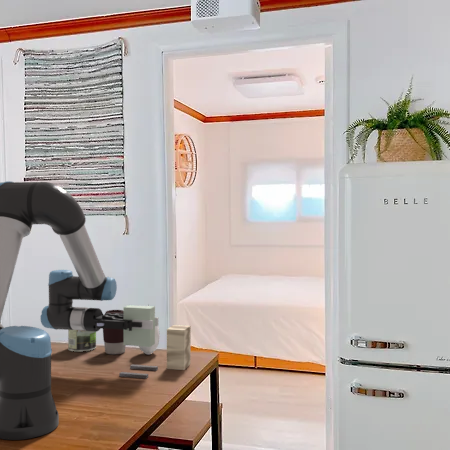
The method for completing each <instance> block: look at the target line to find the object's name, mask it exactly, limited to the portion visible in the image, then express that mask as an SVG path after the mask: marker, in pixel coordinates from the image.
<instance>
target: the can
mask: <svg viewBox="0 0 450 450" xmlns="http://www.w3.org/2000/svg"><path fill="white" fill-rule="evenodd" d="M67 339H68V340H67V341H68V342H67V344H68V345H67V346H68V348H67V349H68V351H70V352H73V351H74V353H84V352H83V351H86V352H91V351H93V349H94V350H96V349H97V332H93V331H81V332H78V330H68V336H67ZM95 348H96V349H95ZM90 350H91V351H90Z"/></svg>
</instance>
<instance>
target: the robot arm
mask: <svg viewBox="0 0 450 450" xmlns="http://www.w3.org/2000/svg"><path fill="white" fill-rule="evenodd" d="M86 219H87V218H86V215H85V213H84V211H83V209H82V207H81V205H80V204H79V203H78V201H77V200H76V199H75V198H74V196H72V195H71V194H70V193H69V192H68V191H67V190H66V189H64V188H62V187H61V186H59V185H57V184H56V183H52V182H48V181H39V182H38V181H30V182H29V181H23V182H22V181H20V182H19V181H16V182H14V181H9V180H8V181H4V182H0V440H1V439H2V440H7V441H16V440H17V441H19V440H21V441H22V440H27V439H33V438H38V437H41V436H44V435H46V434H49V433H51V432H53V431H55V429H56V428H58V426H59V424H60V421H59V420H60V419H59V417H60V416H59V412H58V410H57V406H56V403H55V400H54V398H53V394H52V353H53V350H52V349H53V348H52V341H51V336H50V334H49V333H48V332H47V331H46V330H44V329H42V328H40V327H35V326H30V325H29V326H27V325H12V326H3V324H2V322H1V320H2V316H3V313H4V309H5V306H6V301H7V297H8V294H9V290H10V286H11V282H12V279H13V275H14V272H15V268H16V264H17V261H18V256H19V253H20V249H21V245H22V243H23V239H24V238H25V237H28V236H29V235H30V234H31V232H32V227H33V225H47V226H50V227H51V229H52V231H53V232H54V234H56V235H57V236H58V235H59V237H60V239H61V242H62V244H63V246H64V248H65V250H66V252H67V254H68V257H69V259H70V261H71V263H72V265H73V267H74V270H75V271H76V273H77V276H74V274H73V271H72V270H71V269H56V270H51V271H50V272H49V274H48V283H47V284H48V285H47V286H48V305H46V306H44V307H43V308H42V310H41V315H40V324H41V325H42V326H43V328H46V329H51V330H52V329H53V330H56V331H57V330H62V331H63V330H78V332H81V331H93V332H96V333H97V332H98V331H100V330H101V329H103V328H106V329H125V330H127V329H128V328H129V331H132V327H133V328H136V329H153V320H138V319H133V322H132V320H126V319H124V314H119V313H113V314H111V313H106V315H105V314H104V313H103V310H102V309H101V308H100V307H99V308H98V307H86V306H84V307H83V306H73V303H74V302H73V301H74V300H77V301H79V300H81V301H100V302H102V301H112V300H113V299H115V297H116V293H117V286H118V285H117V281H116V279H115V278H114V277H111V276H110V277H109V276H106V275H105V273H104V270H103V268H102V266H101V263H100V260H99V258H98V255H97V253H96V251H95V249H94V246H93V243H92V241H91V238H90V236H89V233H88V231H87V228H86V225H85V224H86V221H87V220H86ZM155 326H158V327H159V317H158V316H157V317H156V316H155Z"/></svg>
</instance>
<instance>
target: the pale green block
mask: <svg viewBox="0 0 450 450" xmlns="http://www.w3.org/2000/svg"><path fill="white" fill-rule="evenodd" d="M123 311H124V319H126V320H132V322H133V319H138V320H153V329H136V328H133V327H132V331H129V328H128V329H127V330H125V329H124V345H126V346H130V347H131V346H132V347H133V346H134V347H139V346H145V347H151V346H152V345H154V344H155V317H156V315H155V314H156V307H155V305H154V306H153V305H152V306H151V305H149V306H148V305H132V304H131V305H130V304H127V305H125V306H123Z"/></svg>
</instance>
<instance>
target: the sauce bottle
mask: <svg viewBox="0 0 450 450" xmlns="http://www.w3.org/2000/svg"><path fill="white" fill-rule="evenodd" d="M147 306H150V304H149V303H148V304H147ZM160 337H161V336H160V328H159V325H158V326H155V344H154V345H152V346H151V347H145V346H138V348H139V350H140V351H141V352H143V354H145V355H152V354H154V351H156V350H157V349H158V347H159V344H160Z"/></svg>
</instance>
